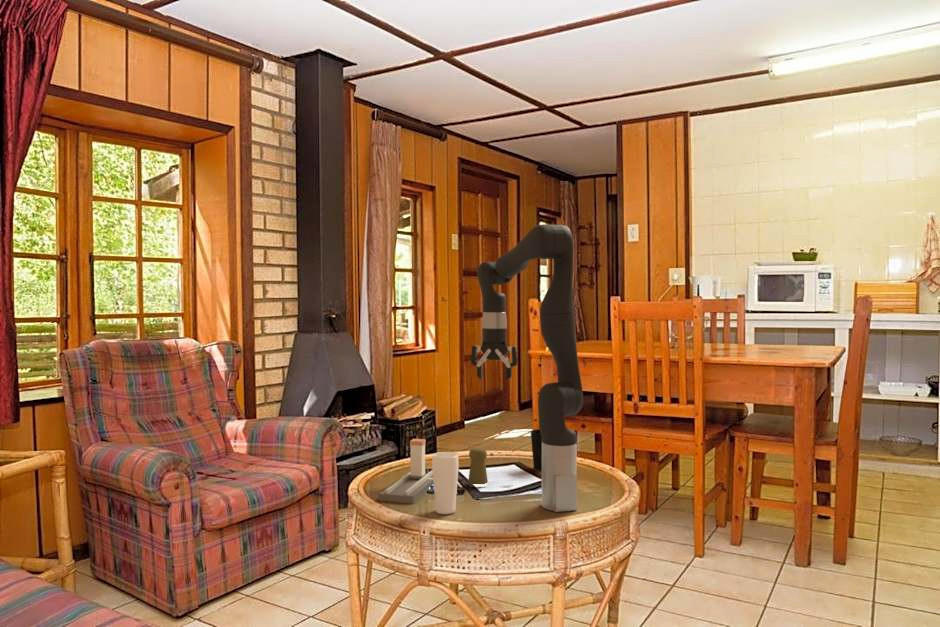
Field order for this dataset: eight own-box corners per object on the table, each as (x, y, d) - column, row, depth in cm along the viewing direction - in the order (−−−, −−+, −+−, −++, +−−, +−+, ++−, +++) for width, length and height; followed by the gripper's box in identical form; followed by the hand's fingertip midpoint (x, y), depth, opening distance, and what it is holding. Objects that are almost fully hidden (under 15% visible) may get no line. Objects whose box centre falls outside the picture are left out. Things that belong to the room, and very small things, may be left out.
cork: (488, 488, 206) (488, 450, 205) (467, 488, 206) (467, 450, 205) (488, 482, 212) (488, 446, 211) (467, 482, 212) (468, 445, 212)
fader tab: (413, 474, 212) (413, 438, 211) (426, 475, 211) (426, 439, 210) (409, 478, 208) (409, 441, 208) (422, 478, 207) (422, 442, 206)
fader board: (408, 478, 216) (408, 468, 216) (440, 480, 214) (440, 470, 214) (378, 500, 193) (378, 490, 193) (413, 503, 191) (413, 492, 191)
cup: (525, 468, 229) (525, 431, 228) (541, 464, 234) (541, 428, 233) (543, 472, 223) (543, 435, 222) (559, 468, 228) (559, 431, 227)
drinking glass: (430, 515, 181) (430, 457, 180) (435, 507, 188) (434, 451, 187) (456, 516, 180) (456, 458, 180) (460, 508, 187) (460, 452, 186)
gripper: (468, 327, 215) (468, 380, 216) (514, 327, 212) (514, 381, 212) (475, 325, 223) (475, 377, 223) (519, 326, 219) (519, 378, 220)
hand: (494, 379), depth 218 cm, fingers open, 8 cm apart
